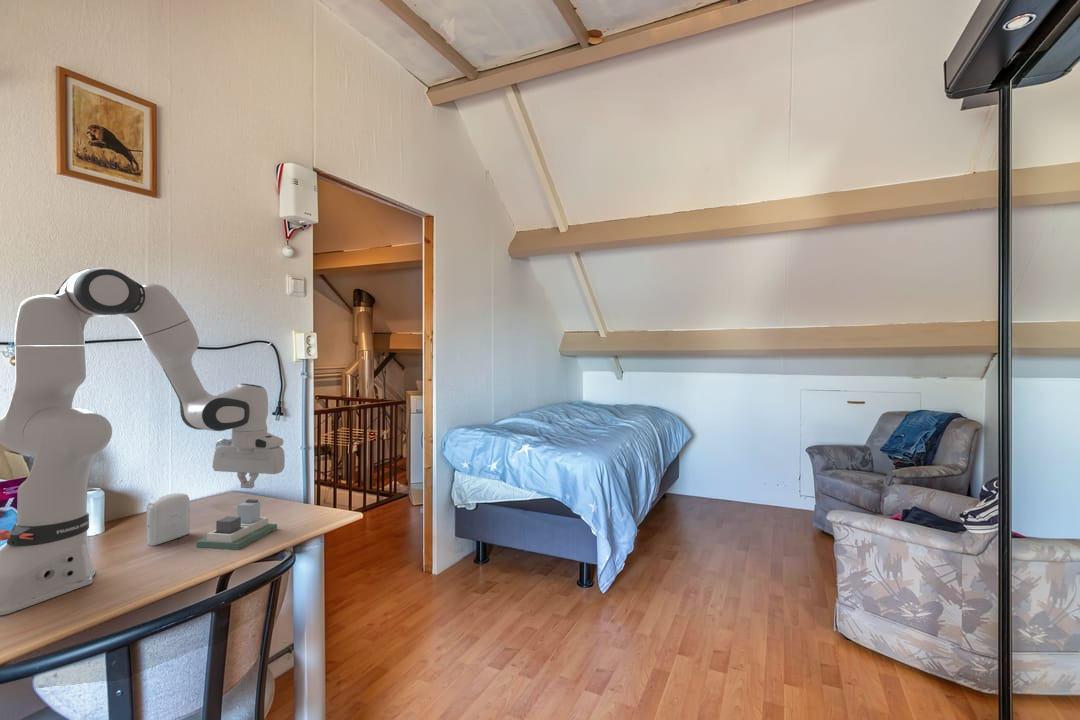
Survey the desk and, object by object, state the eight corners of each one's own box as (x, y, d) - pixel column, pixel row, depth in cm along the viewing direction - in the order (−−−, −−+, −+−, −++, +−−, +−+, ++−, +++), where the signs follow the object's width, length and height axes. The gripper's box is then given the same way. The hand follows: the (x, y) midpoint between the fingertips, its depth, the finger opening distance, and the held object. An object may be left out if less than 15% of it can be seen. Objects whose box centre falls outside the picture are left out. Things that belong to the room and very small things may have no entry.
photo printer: (154, 547, 130) (155, 500, 130) (143, 545, 132) (143, 498, 132) (192, 534, 140) (193, 491, 140) (181, 532, 142) (182, 489, 142)
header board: (238, 549, 129) (238, 524, 129) (196, 547, 131) (196, 522, 131) (277, 529, 145) (277, 507, 145) (239, 526, 147) (239, 505, 147)
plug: (250, 530, 140) (250, 503, 140) (237, 529, 140) (237, 502, 140) (259, 525, 144) (260, 499, 144) (247, 524, 144) (247, 498, 144)
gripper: (208, 439, 140) (205, 488, 140) (274, 442, 138) (272, 492, 137) (224, 437, 146) (222, 483, 146) (288, 439, 144) (286, 487, 144)
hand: (247, 488), depth 142 cm, fingers closed
